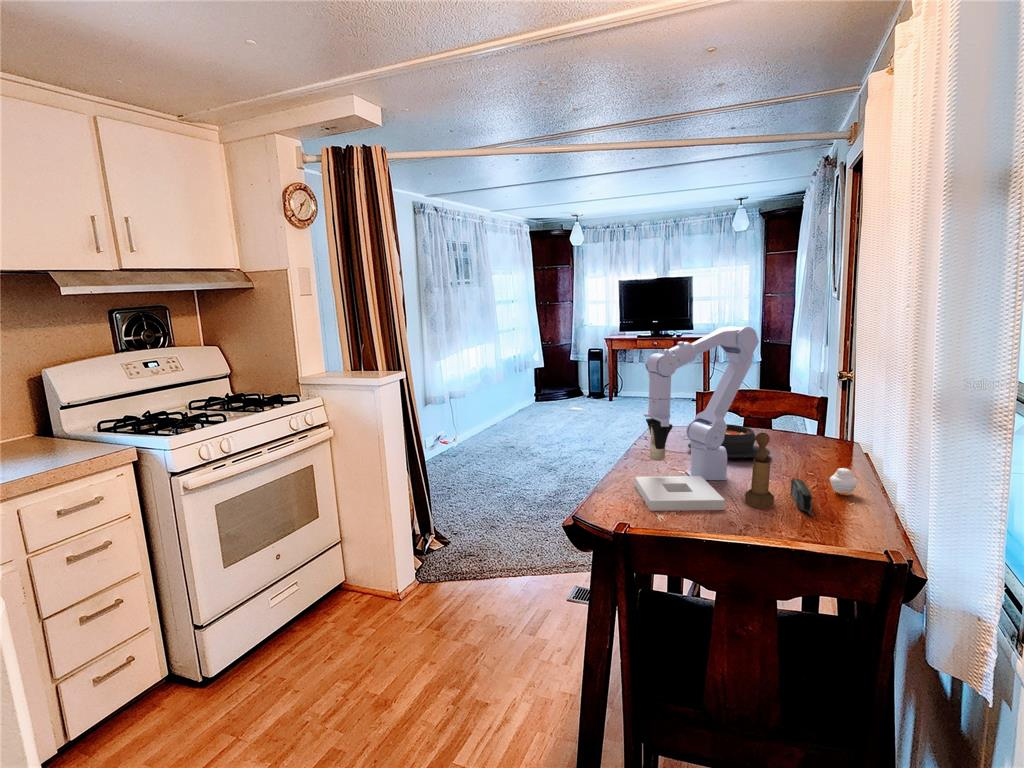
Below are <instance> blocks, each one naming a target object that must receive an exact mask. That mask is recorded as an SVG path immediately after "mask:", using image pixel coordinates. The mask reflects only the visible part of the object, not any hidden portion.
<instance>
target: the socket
mask: <svg viewBox="0 0 1024 768" xmlns="http://www.w3.org/2000/svg"><path fill="white" fill-rule="evenodd" d="M634 486H635V488H636V490H637V492H638V494H639V495H640V497H641V496H642V497H641V498H642V500H643V501H645V502H644V503H645V505H646V506H648V507H647V508H648V510H649V511H651V512H653V511H655V512H656V511H658V512H659V511H660V512H661V511H663V512H664V511H721V510H722V511H725V510H726V509H725V507H726V506H725V505H726V499H725V498H724V497H723V496H721V494H720V493H719V492H717V490H716V489H714V487H712V485H710V483H709V482H708V481H707V480H705V479H704V478H703V477H702V476H689V475H682V476H681V475H679V476H678V475H677V476H676V475H674V476H670V475H669V476H664V475H663V476H662V475H661V476H656V475H655V476H634Z"/></svg>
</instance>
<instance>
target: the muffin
mask: <svg viewBox="0 0 1024 768" xmlns="http://www.w3.org/2000/svg"><path fill="white" fill-rule="evenodd" d="M829 481H830V484H831V488H832V490H833V491H834V492H835V491H836V492H838V493H845V494H846V493H848V494H849V493H851V492H853V491H854V490H855V488H856V486H857V485H858V481H857V478H856V477H854V475H853V472H852V470H851V469H849V468H846V467H841V468H840V467H839V468H837V469H836V471H835V473H833V475H832V476H830V477H829ZM851 494H852V493H851Z"/></svg>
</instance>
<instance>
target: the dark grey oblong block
mask: <svg viewBox="0 0 1024 768" xmlns="http://www.w3.org/2000/svg"><path fill="white" fill-rule="evenodd" d="M790 482H791V483H790V496H791V497H792V496H793V497H792V498H793V500H794V502H795V501H796V502H795V504H796V507H797V508H798V509H799V510H800V511H802V512H806V513H808V514H809V516H811V515H813V516H814V514H813V512H812V507H813V495H812V491H811V490H810V489H809V487H808V485H807V484H806V483H805V482H804V481H803V480H802V479H799V478H792V479H791V481H790Z"/></svg>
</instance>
